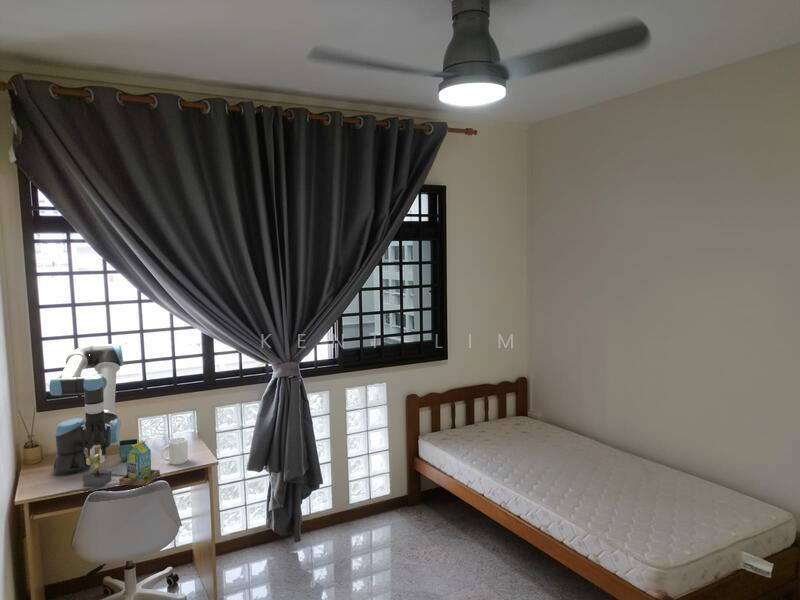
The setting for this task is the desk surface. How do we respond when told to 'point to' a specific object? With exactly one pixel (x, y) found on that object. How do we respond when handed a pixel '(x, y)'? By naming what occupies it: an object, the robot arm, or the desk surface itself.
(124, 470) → the mat
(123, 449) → the flower pot
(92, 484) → the block
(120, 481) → the frame
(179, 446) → the mug
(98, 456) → the key
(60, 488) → the desk surface
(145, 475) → the carton
